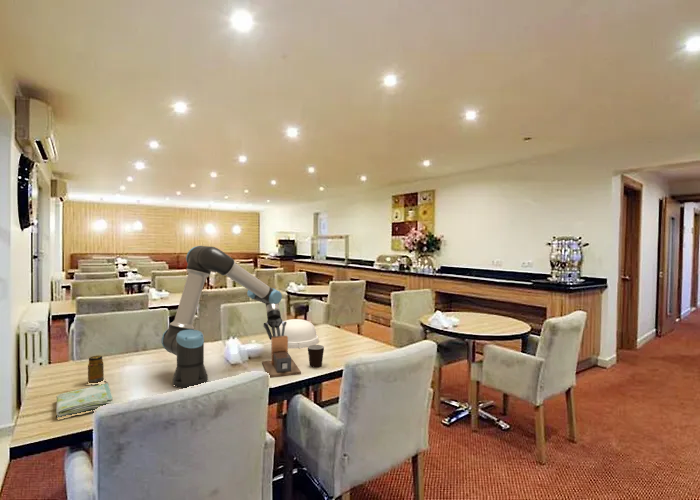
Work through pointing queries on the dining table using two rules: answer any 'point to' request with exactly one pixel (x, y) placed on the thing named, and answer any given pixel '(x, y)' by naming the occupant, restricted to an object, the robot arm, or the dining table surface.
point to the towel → (83, 400)
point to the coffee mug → (315, 355)
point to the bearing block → (282, 358)
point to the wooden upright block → (279, 348)
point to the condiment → (95, 369)
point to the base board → (272, 372)
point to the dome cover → (299, 333)
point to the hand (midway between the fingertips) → (278, 350)
